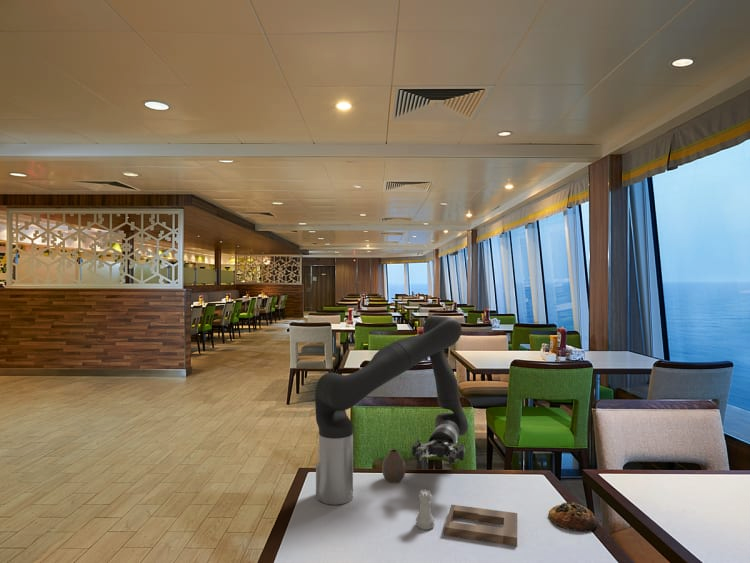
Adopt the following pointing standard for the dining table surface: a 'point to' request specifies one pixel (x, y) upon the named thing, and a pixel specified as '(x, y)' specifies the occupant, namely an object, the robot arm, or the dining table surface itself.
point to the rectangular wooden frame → (480, 531)
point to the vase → (393, 467)
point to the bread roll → (573, 517)
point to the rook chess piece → (425, 511)
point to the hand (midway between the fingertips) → (434, 459)
